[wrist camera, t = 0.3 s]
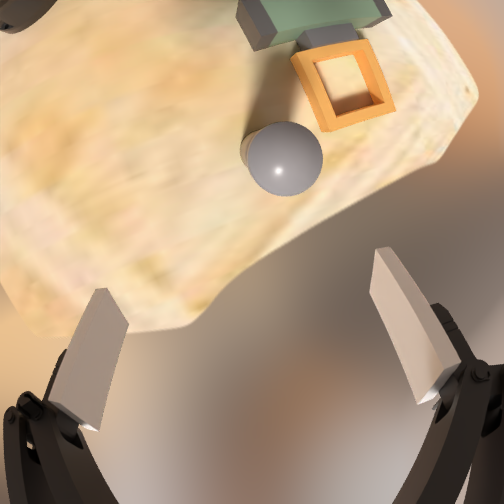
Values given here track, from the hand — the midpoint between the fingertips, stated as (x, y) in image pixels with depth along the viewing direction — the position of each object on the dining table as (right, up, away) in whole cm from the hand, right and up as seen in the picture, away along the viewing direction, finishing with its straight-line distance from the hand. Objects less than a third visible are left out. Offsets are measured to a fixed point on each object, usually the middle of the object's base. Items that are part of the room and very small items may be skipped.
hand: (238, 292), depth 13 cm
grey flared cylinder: (+2, +15, +21) cm, 26 cm away
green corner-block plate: (+9, +32, +14) cm, 36 cm away
